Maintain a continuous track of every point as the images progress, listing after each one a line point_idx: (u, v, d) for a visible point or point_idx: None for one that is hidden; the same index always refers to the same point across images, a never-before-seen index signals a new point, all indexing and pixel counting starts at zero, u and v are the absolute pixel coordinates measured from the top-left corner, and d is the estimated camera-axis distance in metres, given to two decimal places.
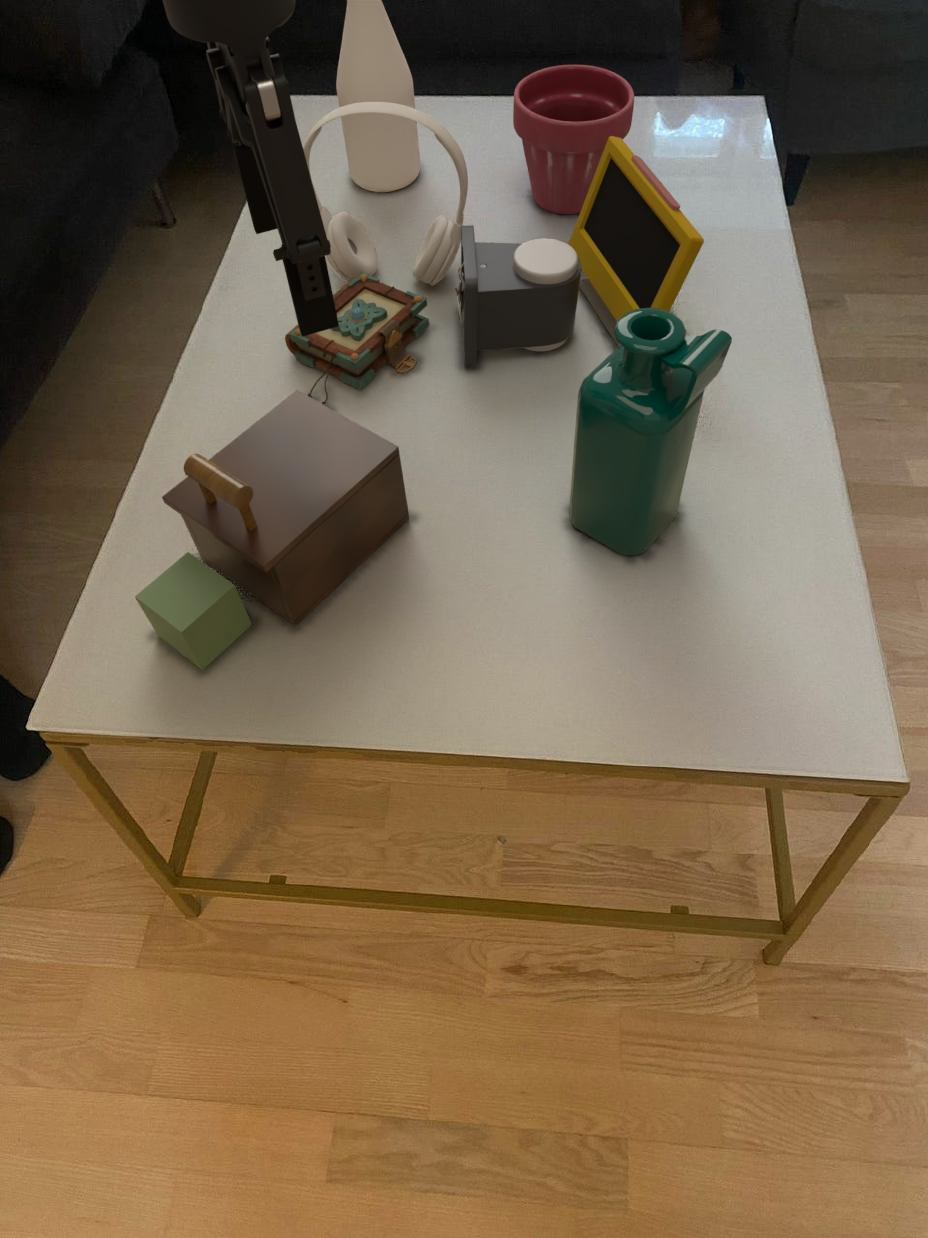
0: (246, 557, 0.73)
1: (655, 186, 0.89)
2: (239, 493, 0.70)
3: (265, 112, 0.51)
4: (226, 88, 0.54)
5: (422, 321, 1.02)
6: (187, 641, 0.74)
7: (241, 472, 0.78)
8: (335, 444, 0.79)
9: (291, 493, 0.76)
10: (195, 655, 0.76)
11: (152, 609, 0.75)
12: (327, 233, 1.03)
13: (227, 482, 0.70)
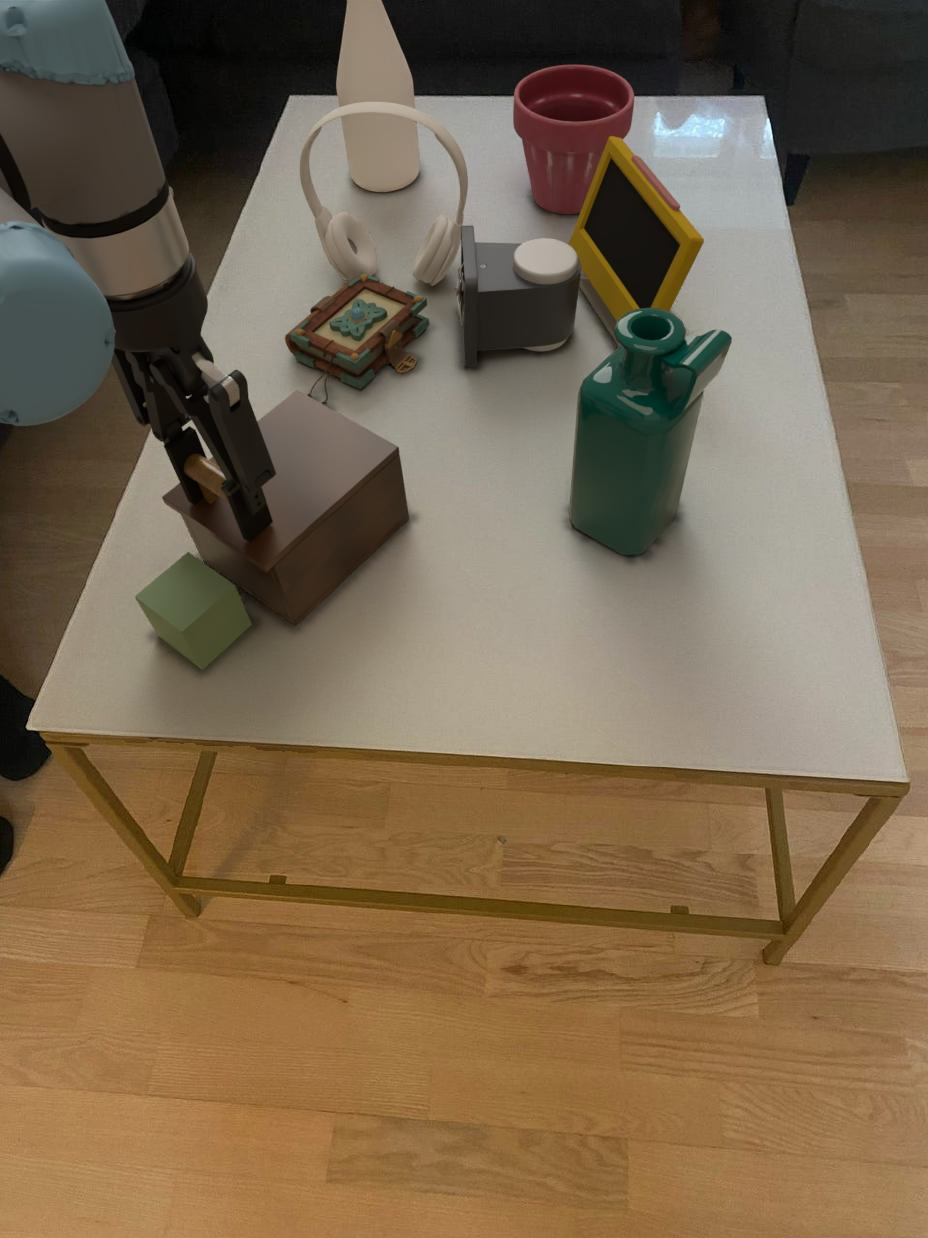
0: (246, 557, 0.73)
1: (655, 186, 0.89)
2: None
3: (230, 404, 0.60)
4: (169, 381, 0.60)
5: (422, 321, 1.02)
6: (187, 641, 0.74)
7: None
8: (335, 444, 0.79)
9: (291, 493, 0.76)
10: (195, 655, 0.76)
11: (152, 609, 0.75)
12: (327, 233, 1.03)
13: None
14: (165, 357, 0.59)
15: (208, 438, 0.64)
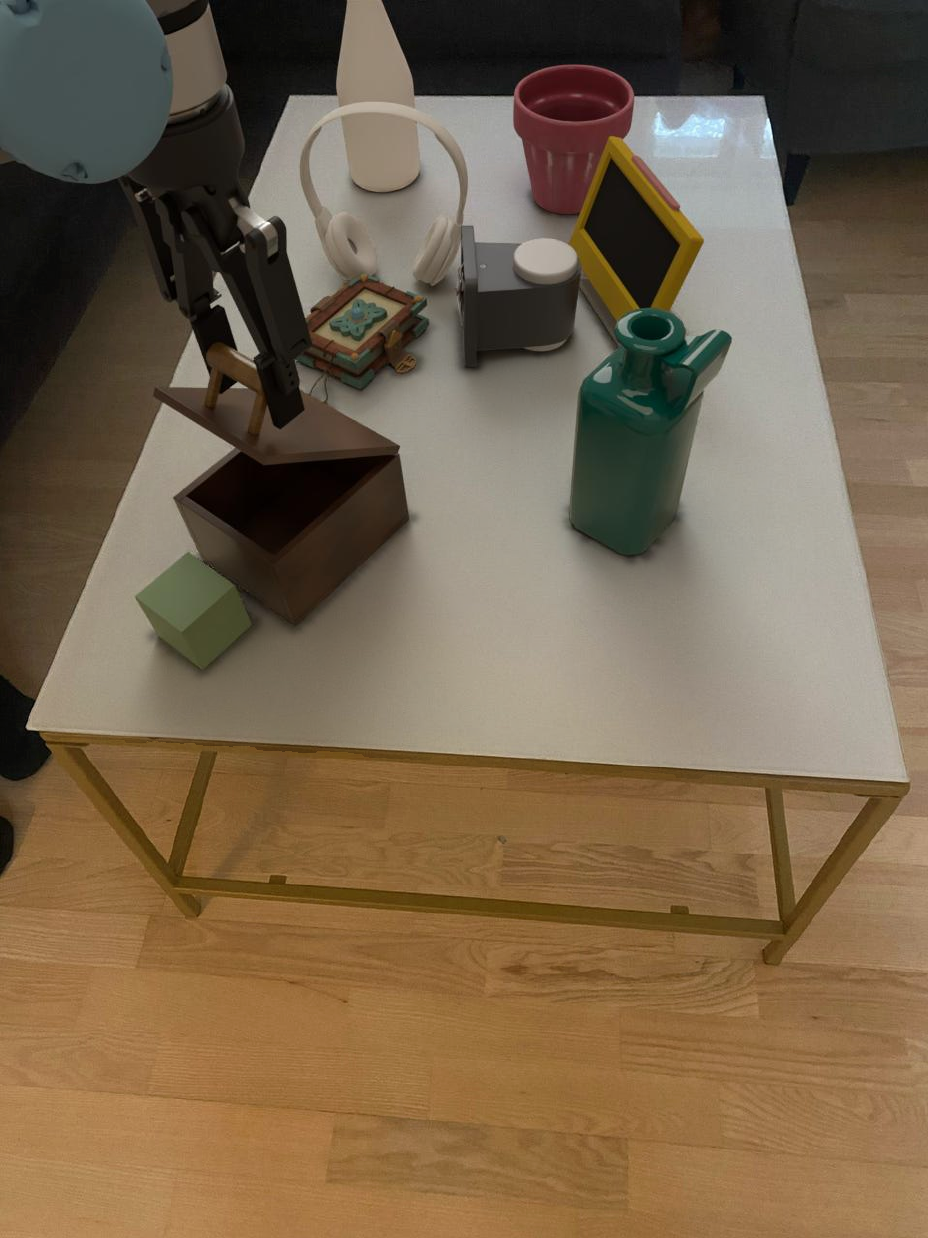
0: (244, 448, 0.66)
1: (655, 186, 0.89)
2: None
3: (268, 254, 0.56)
4: (202, 230, 0.56)
5: (422, 321, 1.02)
6: (187, 641, 0.74)
7: (242, 404, 0.74)
8: (338, 424, 0.78)
9: (295, 430, 0.72)
10: (195, 655, 0.76)
11: (152, 609, 0.75)
12: (327, 233, 1.03)
13: None
14: (198, 202, 0.55)
15: (241, 301, 0.60)
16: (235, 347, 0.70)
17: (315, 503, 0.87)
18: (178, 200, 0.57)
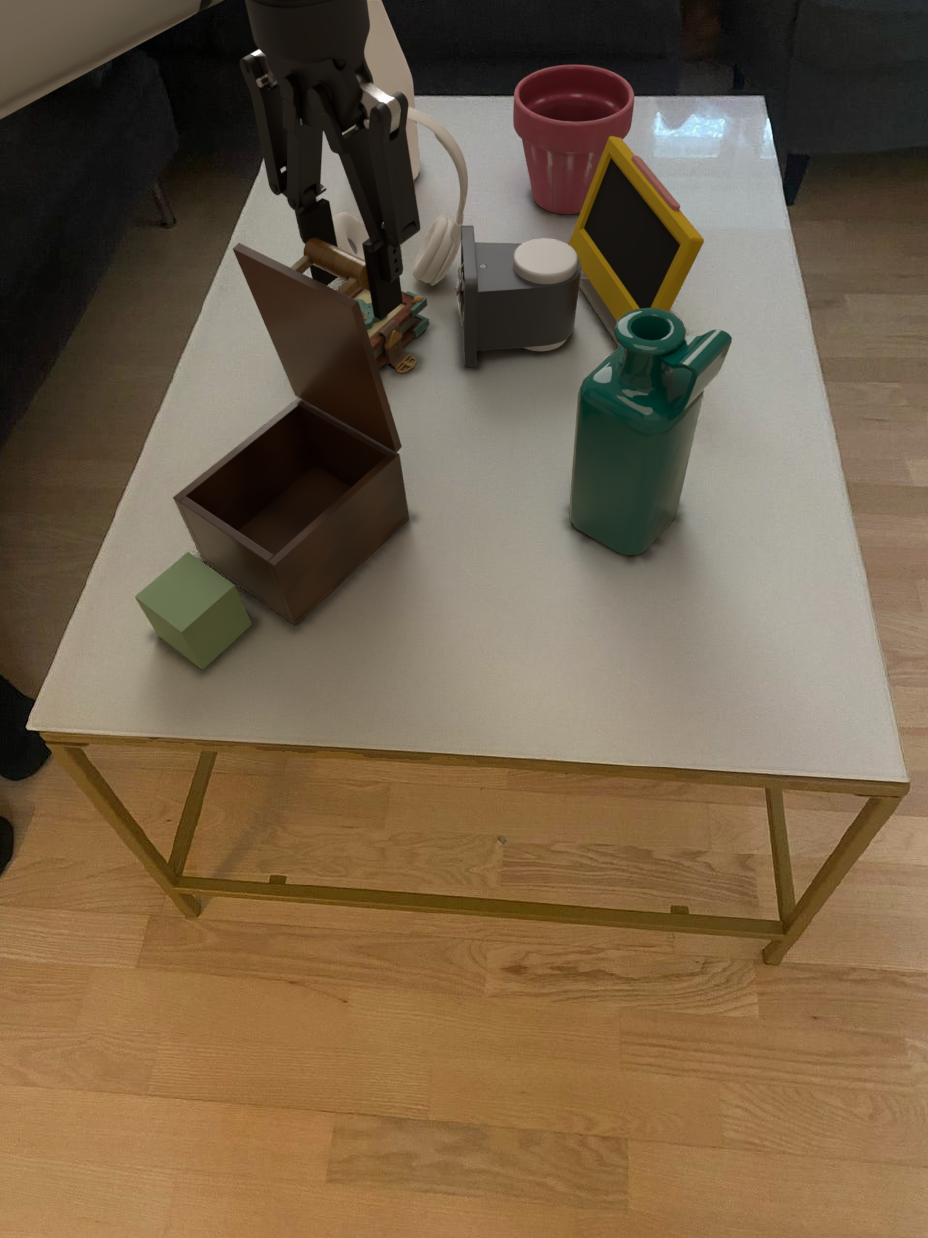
0: (333, 293, 0.66)
1: (655, 186, 0.89)
2: None
3: (391, 129, 0.59)
4: (327, 108, 0.59)
5: (422, 321, 1.02)
6: (187, 641, 0.74)
7: None
8: None
9: None
10: (195, 655, 0.76)
11: (152, 609, 0.75)
12: None
13: None
14: (325, 79, 0.58)
15: (357, 182, 0.63)
16: (335, 243, 0.73)
17: (315, 503, 0.87)
18: (303, 80, 0.60)
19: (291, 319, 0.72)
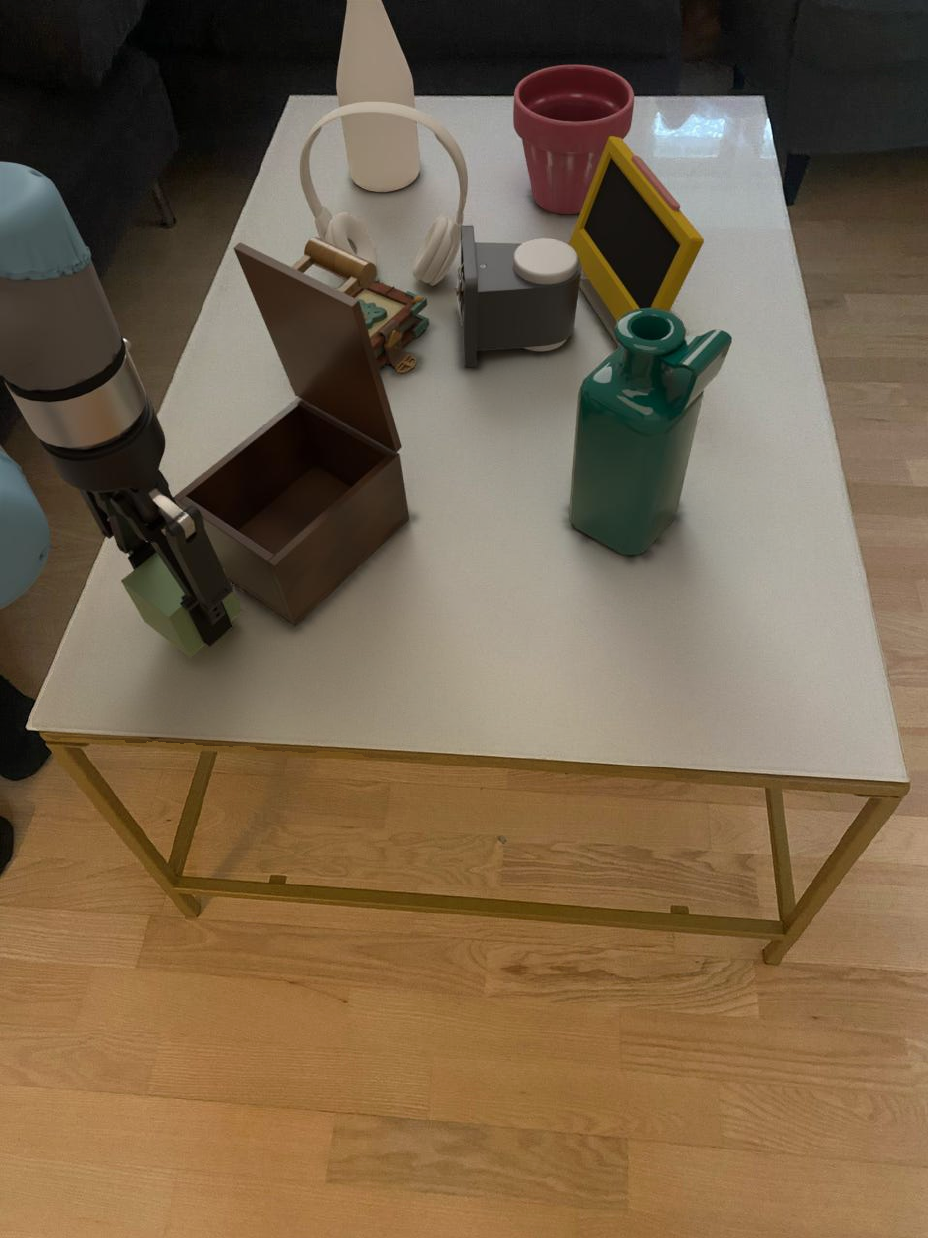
0: (333, 292, 0.66)
1: (655, 186, 0.89)
2: (373, 268, 0.69)
3: (186, 537, 0.63)
4: (128, 513, 0.63)
5: (422, 321, 1.02)
6: (175, 627, 0.72)
7: None
8: None
9: None
10: (183, 641, 0.74)
11: (139, 593, 0.73)
12: (327, 233, 1.03)
13: None
14: (124, 492, 0.63)
15: (167, 561, 0.67)
16: None
17: (315, 503, 0.87)
18: None
19: (292, 319, 0.72)
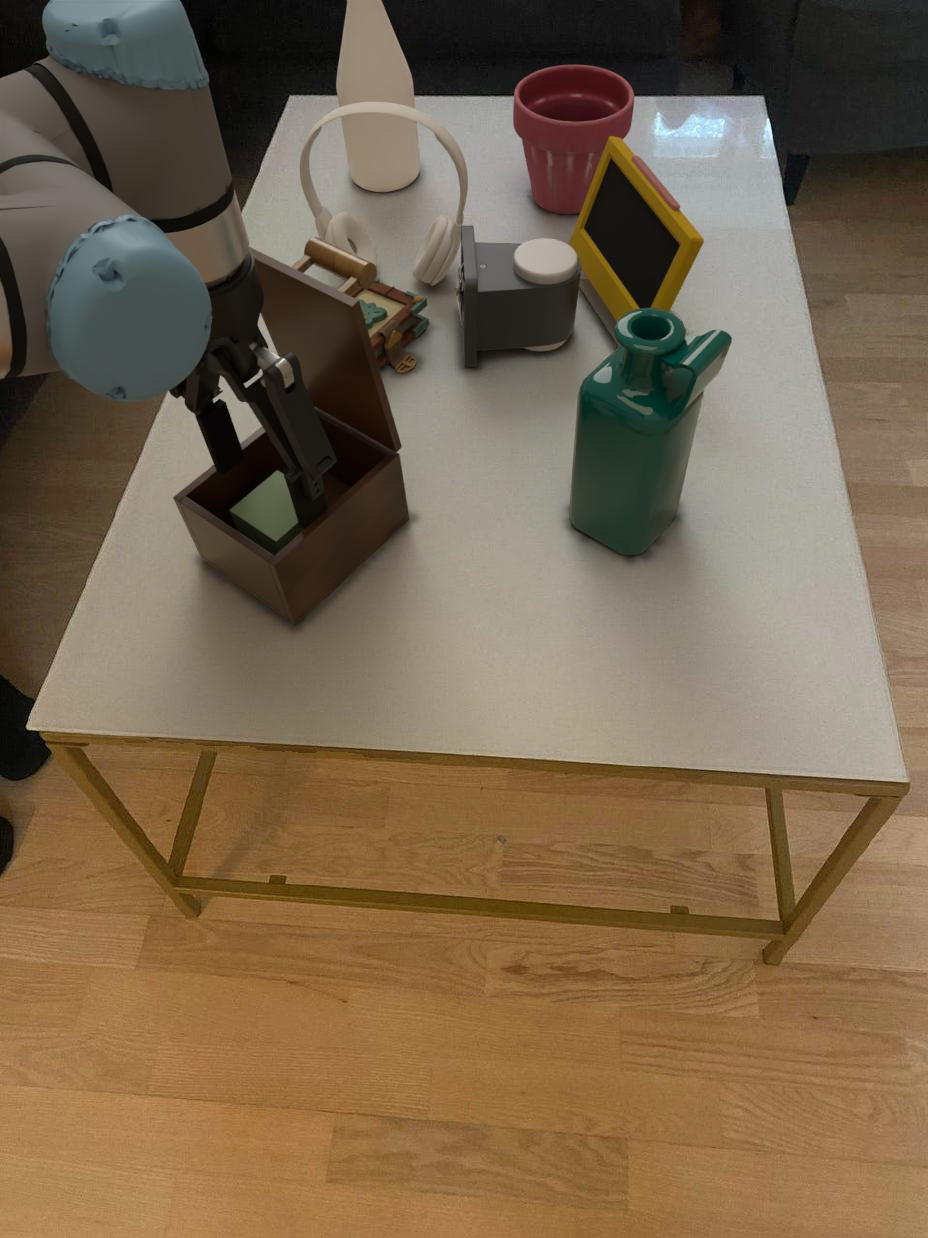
0: (333, 292, 0.66)
1: (655, 186, 0.89)
2: (373, 268, 0.69)
3: (285, 385, 0.62)
4: (226, 367, 0.64)
5: (422, 321, 1.02)
6: None
7: None
8: None
9: None
10: None
11: (247, 521, 0.79)
12: (327, 233, 1.03)
13: None
14: (221, 344, 0.63)
15: (267, 424, 0.67)
16: (235, 434, 0.78)
17: None
18: None
19: (292, 319, 0.72)
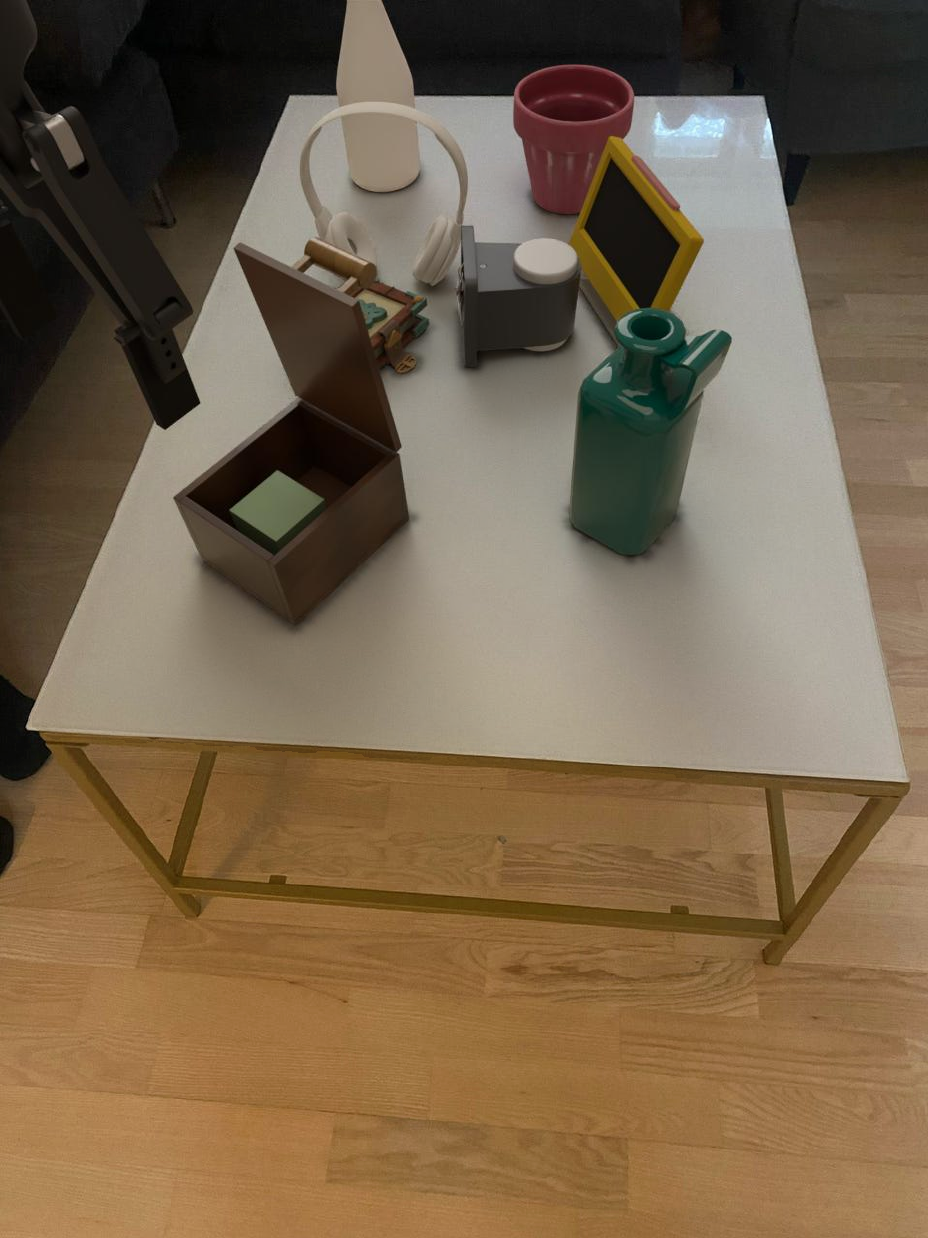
0: (333, 292, 0.66)
1: (655, 186, 0.89)
2: (373, 268, 0.69)
3: (66, 159, 0.39)
4: None
5: (422, 321, 1.02)
6: None
7: None
8: None
9: None
10: None
11: (247, 521, 0.79)
12: (327, 233, 1.03)
13: None
14: None
15: (70, 248, 0.43)
16: (36, 277, 0.55)
17: None
18: None
19: (292, 319, 0.72)
